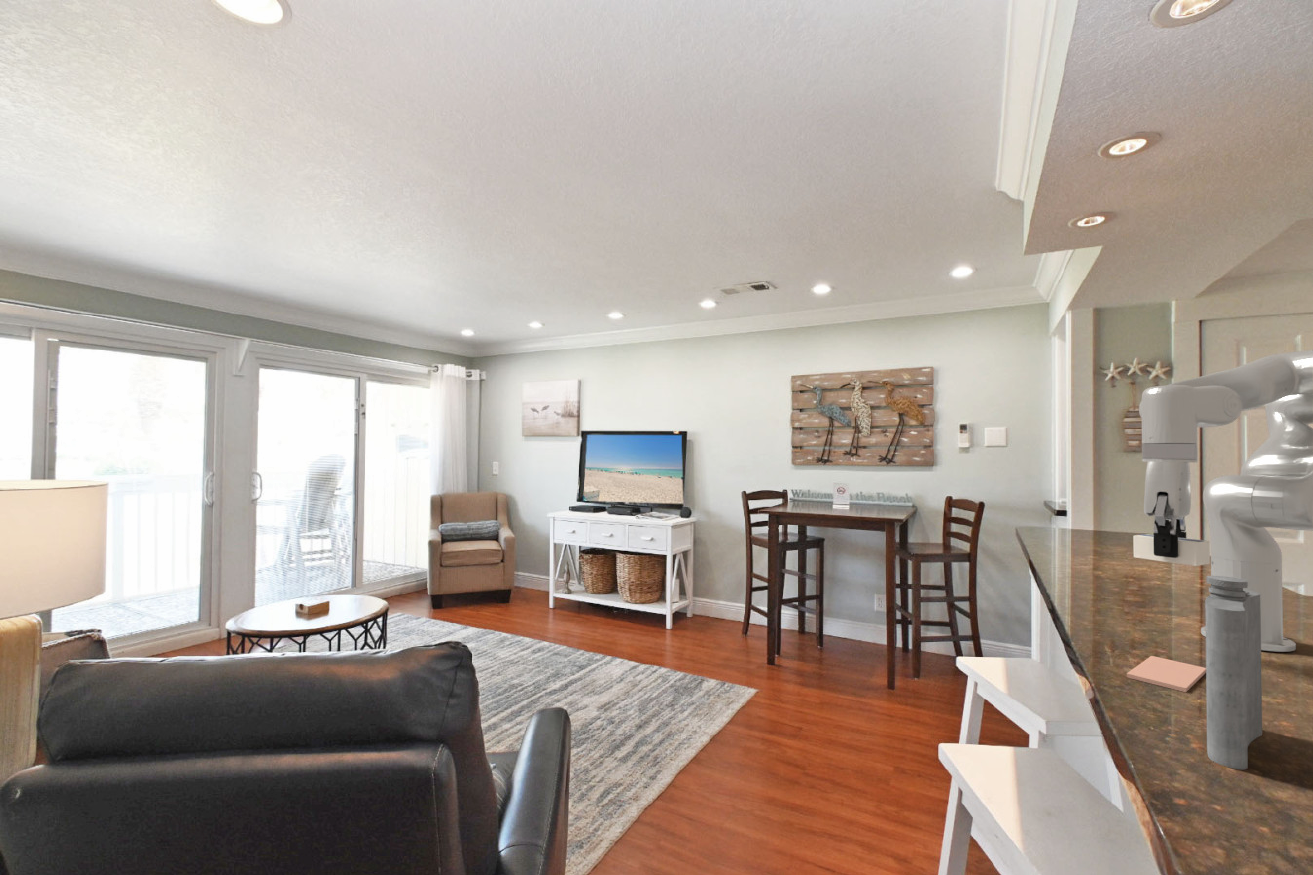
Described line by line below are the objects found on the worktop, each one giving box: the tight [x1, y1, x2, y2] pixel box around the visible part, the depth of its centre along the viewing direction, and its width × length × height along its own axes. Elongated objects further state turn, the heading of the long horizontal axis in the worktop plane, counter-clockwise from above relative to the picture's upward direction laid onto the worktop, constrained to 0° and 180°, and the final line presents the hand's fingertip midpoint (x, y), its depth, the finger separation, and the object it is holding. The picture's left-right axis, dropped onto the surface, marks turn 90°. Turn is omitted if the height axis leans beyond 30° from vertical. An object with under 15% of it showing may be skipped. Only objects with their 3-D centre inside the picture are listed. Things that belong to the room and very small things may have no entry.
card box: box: [1132, 533, 1211, 567], centre depth 104 cm, size 5×9×4 cm, turn 27°
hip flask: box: [1204, 575, 1263, 771], centre depth 70 cm, size 16×4×20 cm, turn 129°
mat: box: [1126, 655, 1206, 693], centre depth 92 cm, size 14×7×1 cm, turn 127°
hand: (1170, 553), depth 104 cm, fingers closed on card box, 5 cm apart
